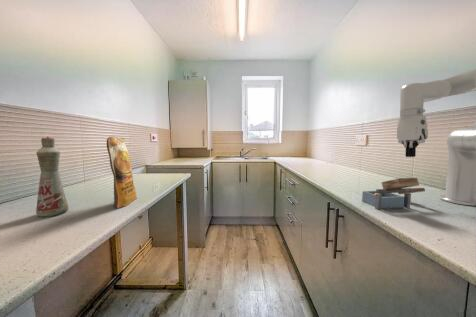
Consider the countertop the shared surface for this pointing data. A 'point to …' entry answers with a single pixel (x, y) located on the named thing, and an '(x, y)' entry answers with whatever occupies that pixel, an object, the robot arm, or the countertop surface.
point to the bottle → (50, 181)
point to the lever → (400, 186)
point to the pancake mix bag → (121, 172)
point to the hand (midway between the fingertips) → (410, 156)
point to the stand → (379, 199)
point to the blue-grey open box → (384, 199)
